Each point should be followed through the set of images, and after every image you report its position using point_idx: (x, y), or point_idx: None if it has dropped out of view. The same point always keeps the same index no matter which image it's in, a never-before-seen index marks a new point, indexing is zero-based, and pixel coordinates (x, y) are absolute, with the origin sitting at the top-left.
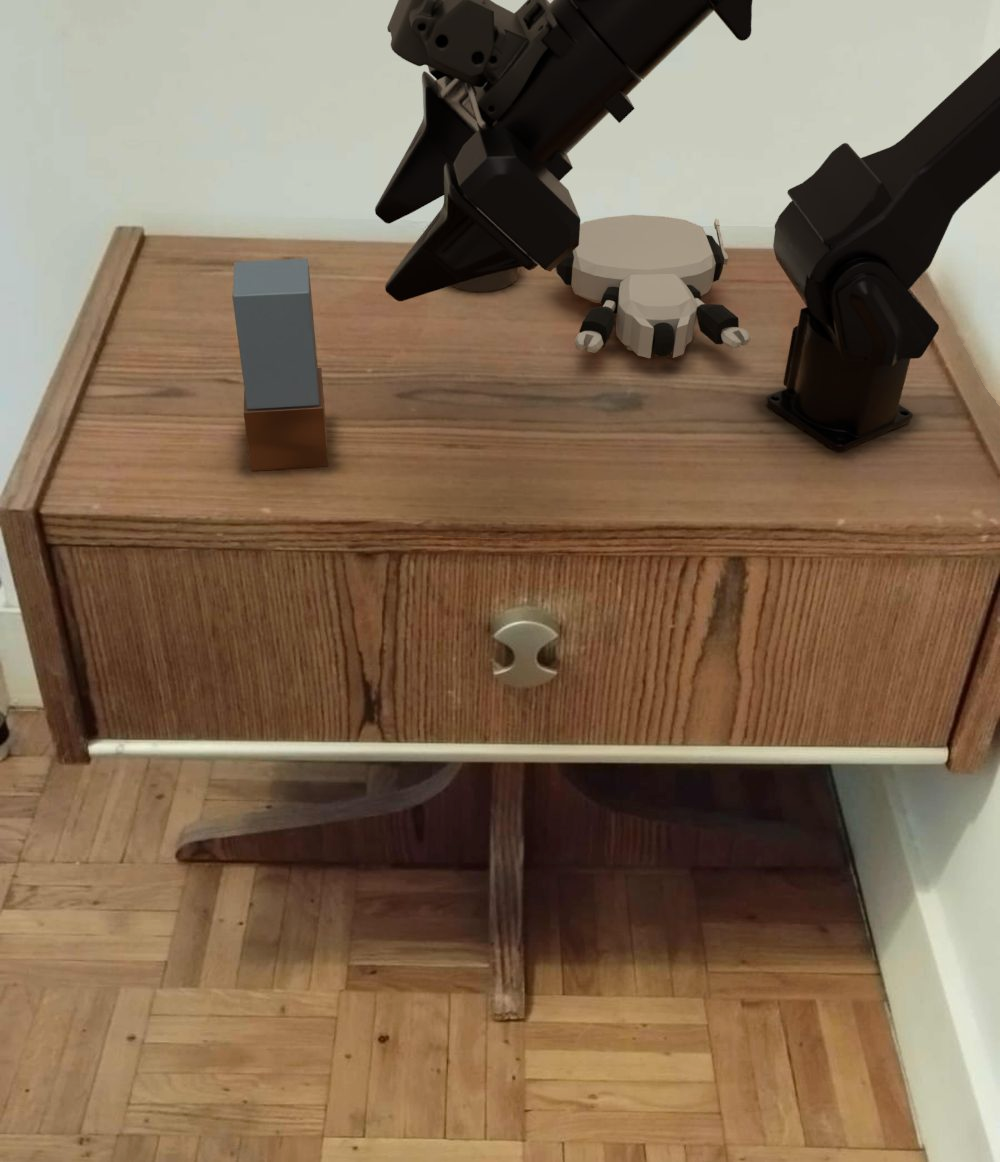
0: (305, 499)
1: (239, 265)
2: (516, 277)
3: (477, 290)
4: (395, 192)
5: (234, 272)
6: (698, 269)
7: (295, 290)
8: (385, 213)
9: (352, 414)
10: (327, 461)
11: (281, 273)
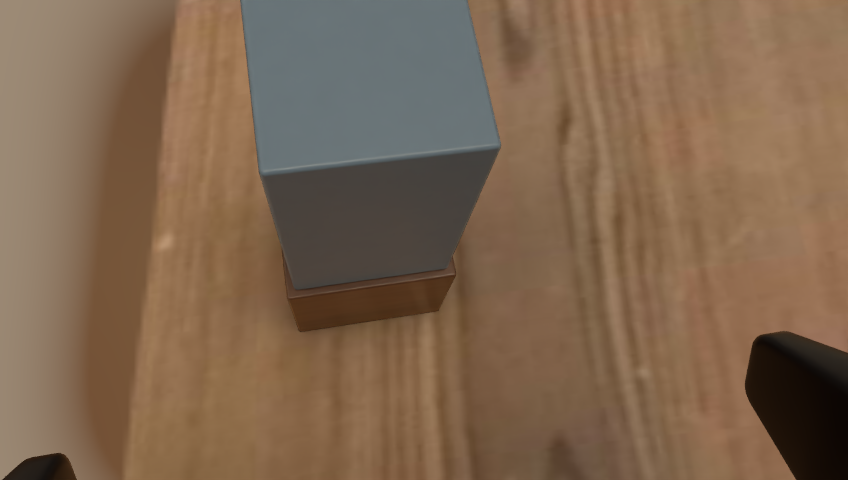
0: (195, 304)
1: None
2: None
3: None
4: (843, 416)
5: None
6: None
7: (269, 132)
8: (766, 378)
9: (480, 356)
10: (300, 329)
11: (388, 81)
